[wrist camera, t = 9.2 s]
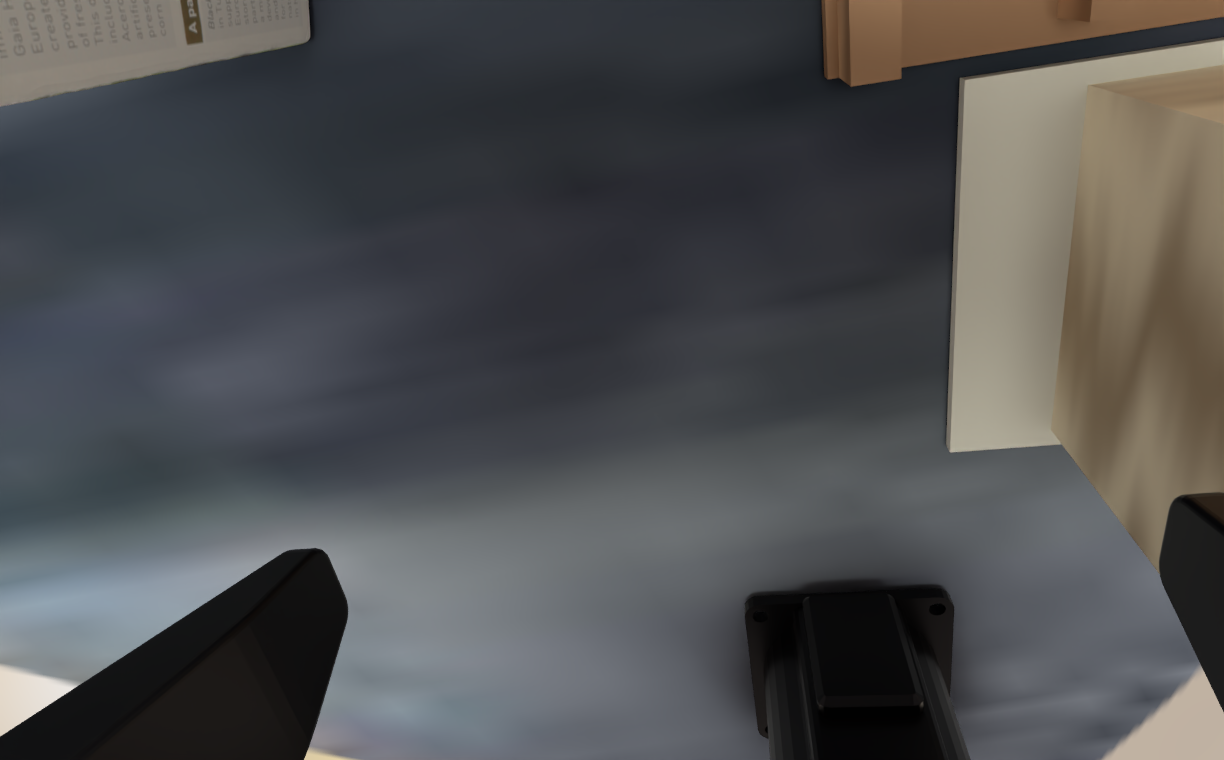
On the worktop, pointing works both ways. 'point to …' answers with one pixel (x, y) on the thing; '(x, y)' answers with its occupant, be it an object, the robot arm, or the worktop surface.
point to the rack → (976, 29)
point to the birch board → (1147, 299)
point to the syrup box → (132, 39)
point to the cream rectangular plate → (1023, 236)
